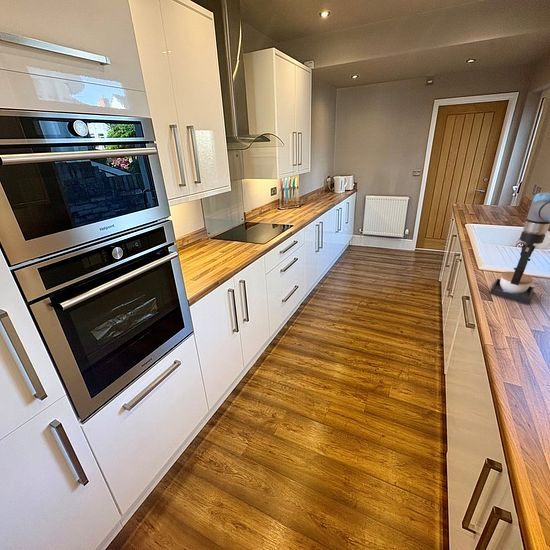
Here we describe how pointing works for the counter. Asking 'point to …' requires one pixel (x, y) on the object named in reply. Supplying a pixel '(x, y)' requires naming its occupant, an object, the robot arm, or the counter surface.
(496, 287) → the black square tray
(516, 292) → the trinket box
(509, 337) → the counter surface
